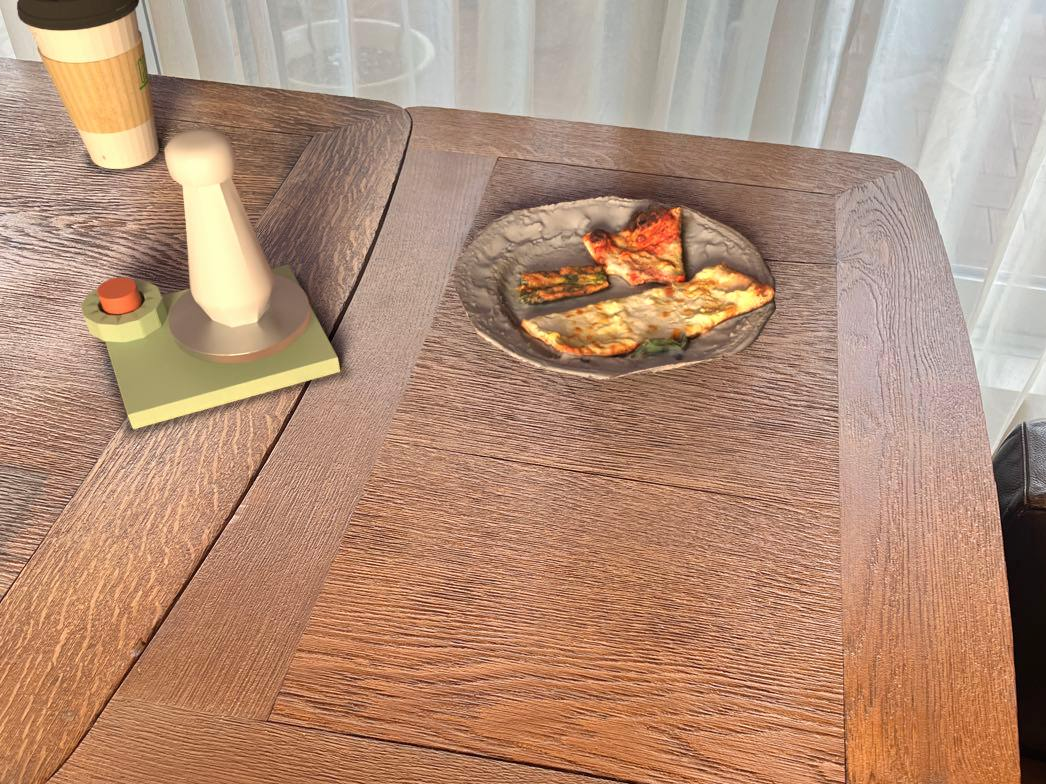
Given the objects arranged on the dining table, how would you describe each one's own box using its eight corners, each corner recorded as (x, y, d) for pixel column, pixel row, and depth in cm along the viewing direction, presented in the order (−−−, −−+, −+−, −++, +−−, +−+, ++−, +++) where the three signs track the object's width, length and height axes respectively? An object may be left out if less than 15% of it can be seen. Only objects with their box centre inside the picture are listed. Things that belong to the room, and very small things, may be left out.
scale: (121, 433, 71) (107, 400, 69) (88, 322, 80) (75, 290, 77) (340, 372, 76) (334, 339, 74) (288, 273, 84) (281, 241, 82)
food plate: (700, 200, 92) (705, 163, 89) (825, 358, 77) (835, 320, 74) (426, 247, 87) (423, 209, 84) (505, 426, 72) (504, 387, 69)
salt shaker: (182, 310, 74) (129, 138, 65) (247, 276, 77) (206, 107, 67) (230, 345, 72) (183, 171, 62) (296, 309, 75) (260, 137, 65)
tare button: (106, 320, 75) (100, 303, 74) (100, 300, 77) (93, 282, 76) (145, 311, 76) (139, 293, 75) (138, 290, 78) (132, 273, 77)
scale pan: (187, 379, 71) (184, 370, 70) (158, 300, 77) (155, 291, 76) (328, 341, 73) (326, 332, 73) (289, 268, 79) (287, 259, 79)
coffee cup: (195, 131, 100) (151, -36, 88) (152, 183, 93) (99, 10, 82) (100, 122, 101) (45, -44, 89) (51, 173, 94) (-15, 1, 83)
